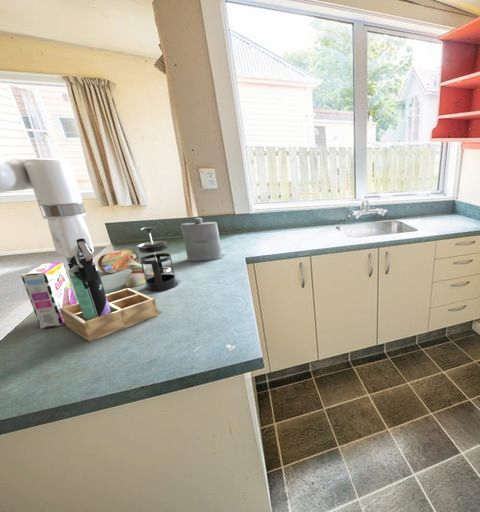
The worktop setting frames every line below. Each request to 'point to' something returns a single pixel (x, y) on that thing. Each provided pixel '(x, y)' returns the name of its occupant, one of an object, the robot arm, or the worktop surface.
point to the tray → (111, 314)
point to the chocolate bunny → (135, 274)
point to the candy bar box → (49, 293)
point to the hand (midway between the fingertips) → (85, 277)
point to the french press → (157, 265)
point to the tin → (117, 260)
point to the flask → (201, 240)
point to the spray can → (89, 295)
